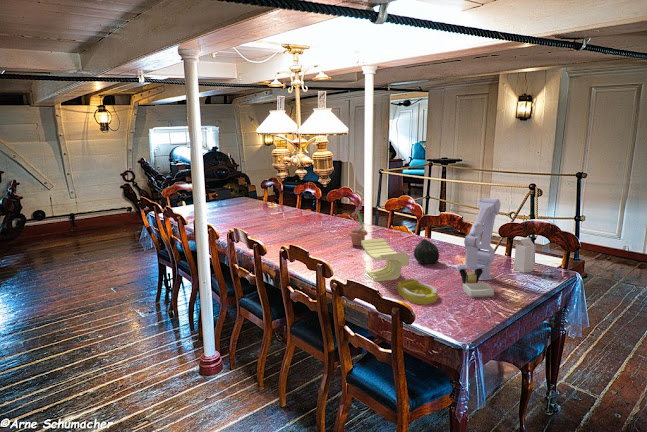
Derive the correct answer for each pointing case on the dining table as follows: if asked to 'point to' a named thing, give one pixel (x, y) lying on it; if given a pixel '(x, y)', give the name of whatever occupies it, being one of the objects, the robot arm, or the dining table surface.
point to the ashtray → (417, 292)
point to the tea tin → (470, 277)
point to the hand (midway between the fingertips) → (470, 282)
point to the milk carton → (524, 255)
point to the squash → (426, 252)
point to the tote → (478, 290)
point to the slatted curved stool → (383, 251)
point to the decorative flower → (358, 234)
